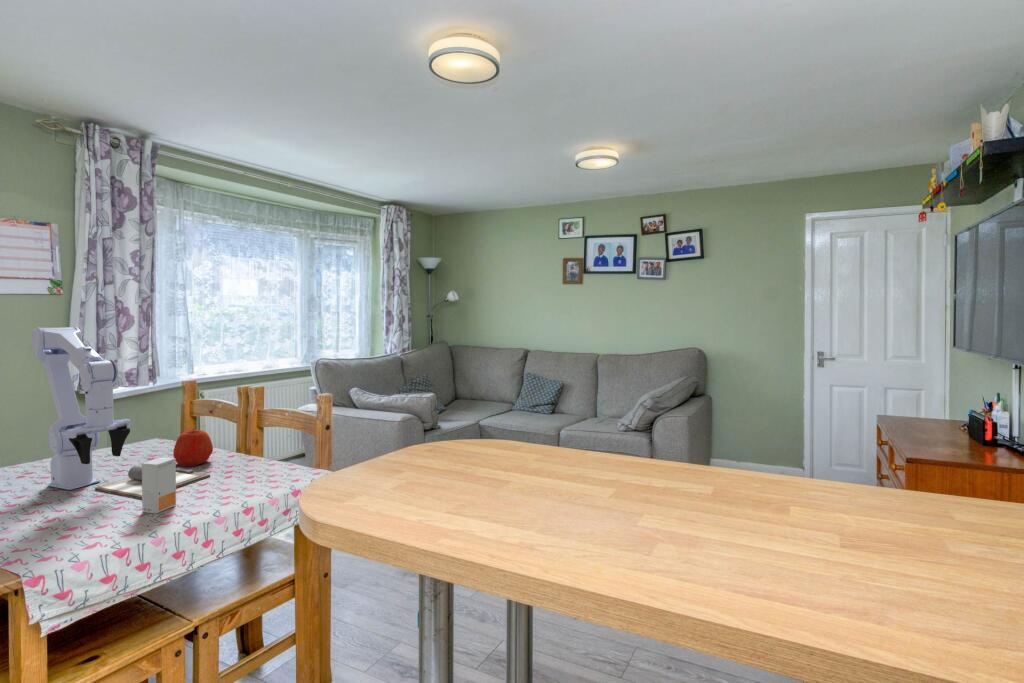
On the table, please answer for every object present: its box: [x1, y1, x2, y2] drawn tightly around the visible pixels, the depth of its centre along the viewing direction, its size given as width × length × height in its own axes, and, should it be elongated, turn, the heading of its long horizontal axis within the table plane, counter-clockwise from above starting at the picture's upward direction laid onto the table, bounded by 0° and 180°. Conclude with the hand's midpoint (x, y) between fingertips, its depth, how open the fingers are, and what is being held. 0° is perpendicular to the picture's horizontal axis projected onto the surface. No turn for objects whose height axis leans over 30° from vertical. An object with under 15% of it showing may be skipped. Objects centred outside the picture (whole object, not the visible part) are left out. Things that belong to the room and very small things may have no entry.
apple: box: [172, 429, 214, 467], centre depth 171 cm, size 11×11×11 cm
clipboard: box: [94, 467, 211, 500], centre depth 152 cm, size 18×20×1 cm
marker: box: [127, 465, 142, 481], centre depth 151 cm, size 13×4×4 cm
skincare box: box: [141, 457, 177, 515], centre depth 133 cm, size 6×4×12 cm
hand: (101, 459), depth 141 cm, fingers open, 7 cm apart
